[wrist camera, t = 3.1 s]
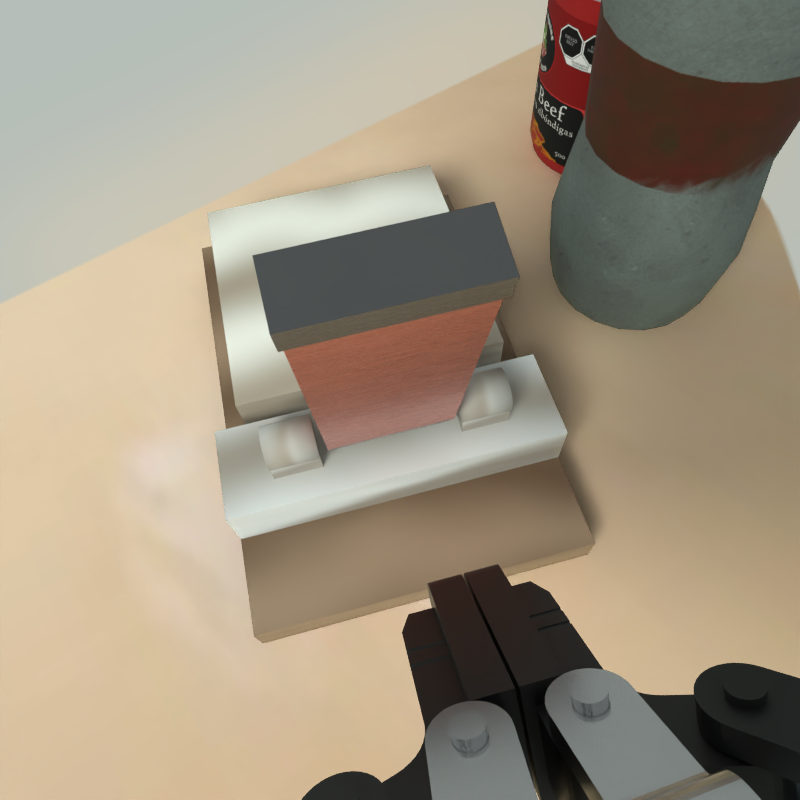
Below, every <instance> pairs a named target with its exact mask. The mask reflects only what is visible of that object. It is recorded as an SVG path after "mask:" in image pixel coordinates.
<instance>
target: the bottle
mask: <svg viewBox="0 0 800 800" xmlns="http://www.w3.org/2000/svg"><path fill="white" fill-rule="evenodd" d="M799 121H800V0H601V4H600V11H599V18H598V25H597V32H596V39H595V46H594V53H593V60H592V67H591V74H590V81H589V88H588V95H587V102H586V109H585V116H584V119H583V121H582V124H581V126H580V129H579V131H578V134H577V137H576V139H575V142H574V144H573V147H572V149H571V152H570V154H569V157H568V159H567V162H566V164H565V167H564V170H563V173H562V176H561V178H560V181H559V184H558V187H557V190H556V192H555V195H554V198H553V201H552V212H551V231H550V259H551V265H552V271H553V276H554V279H555V281H556V283H557V285H558V288H559V290H560V292H561V294H562V295H563V296H564V297H565V298H566V300H567V301H568V302H569V303H570V304H571V305H572V306H573V307H574V308H575V309H576V310H578V311H579V312H581V313H582V314H584V315H586V316H587V317H589V318H590V319H592V320H594V321H596V322H599V323H602V324H605V325H608V326H612V327H615V328H618V329H633V330H646V329H651V328H656V327H660V326H665V325H667V324H669V323H671V322H673V321H674V320H676V319H678V318H680V317H682V316H683V315H685V314H686V313H687V312H688V311H690V310H691V309H692V308H693V307H695V306H696V305H697V304H698V303H700V302H701V300H702V299H703V298H704V297H705V295H706V294H707V293H708V292H709V290H710V289H711V288H712V287H713V286H714V284H715V283H716V282H717V280H718V279H719V278H720V277H721V275H722V274H723V273H724V272H725V270H726V269H727V268H728V267H729V265H730V264H731V263H732V261H733V260H734V259H735V258H736V256H737V255H738V254H739V252H740V250H741V247H742V245H743V242H744V240H745V237H746V235H747V232H748V229H749V227H750V224H751V222H752V219H753V217H754V214H755V212H756V209H757V206H758V203H759V200H760V198H761V195H762V192H763V189H764V186H765V183H766V180H767V177H768V174H769V172H770V169H771V166H772V163H773V161H774V159H775V157H776V156H777V154H778V153H779V151H780V150H781V148H782V146H783V145H784V144H785V142H786V141H787V139H788V137H789V136H790V135H791V133H792V131H793V130H794V128H795V127H796V125H797V124H798V122H799Z"/></svg>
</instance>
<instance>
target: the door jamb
mask: <svg viewBox="0 0 800 800" xmlns="http://www.w3.org/2000/svg"><path fill="white" fill-rule="evenodd" d="M450 211H454V209H453V207H452V204H451V202H450V200H449V197H448V195H444V196H443V195H442V192H441V190H440V188H439V185H438V183H437V181H436V178H435V176H434V173H433V171H432V169H431V166H430V165H429V166H424V167H419V168H415V169H410V170H405V171H401V172H396V173H391V174H387V175H382V176H377V177H373V178H368V179H363V180H359V181H354V182H350V183H345V184H340V185H336V186H331V187H326V188H322V189H317V190H312V191H308V192H303V193H298V194H294V195H289V196H284V197H280V198H275V199H270V200H266V201H261V202H256V203H252V204H247V205H242V206H238V207H233V208H229V209H224V210H219V211H215V212H210V213H207V214H208V221H209V228H210V235H211V242H212V246H211V247H207V248H202V252H203V260H204V267H205V274H206V282H207V289H208V297H209V304H210V312H211V319H212V327H213V334H214V341H215V349H216V356H217V364H218V371H219V379H220V386H221V393H222V401H223V408H224V416H225V423H226V429H225V430H221V431H216V432H215V438H216V446H217V454H218V462H219V471H220V479H221V487H222V495H223V503H224V511H225V519H226V521H227V523H228V524H229V525H230V526H231V528H232V529H233V530H234V531H235V532H236V534H237V535H238V536H239V537H240V539H241V542H242V550H243V557H244V565H245V572H246V579H247V587H248V594H249V602H250V609H251V617H252V624H253V632H254V637H256V638H257V639H258V640H260V641H261V642H262V643H266V642H269V641H273V640H277V639H280V638H284V637H288V636H291V635H295V634H298V633H302V632H306V631H309V630H313V629H317V628H320V627H324V626H328V625H331V624H335V623H339V622H342V621H346V620H350V619H353V618H357V617H360V616H364V615H368V614H371V613H375V612H379V611H382V610H386V609H390V608H393V607H397V606H401V605H404V604H408V603H412V602H415V601H419V600H422V599H426V598H430V596H429V592H428V587H427V583H429V582H433V581H437V580H440V579H444V578H448V577H452V576H455V575H459V574H462V576H463V574H464V573H466V572H470V571H474V570H477V569H481V568H485V567H488V566H492V565H496V564H498V565H499V566H500V567H501V569H502V571H503V572H504V574H505V576H510V575H514V574H517V573H521V572H525V571H528V570H532V569H536V568H539V567H543V566H546V565H550V564H554V563H557V562H561V561H565V560H568V559H572V558H576V557H579V556H583V555H587V554H588V553H589V551H590V550H591V548H592V547H593V546H594V544H595V542H594V539H593V537H592V535H591V532H590V530H589V528H588V525H587V523H586V521H585V518H584V516H583V514H582V511H581V509H580V506H579V504H578V502H577V499H576V497H575V495H574V492H573V490H572V488H571V485H570V483H569V480H568V478H567V476H566V473H565V471H564V469H563V466H562V464H561V462H560V459H559V454H560V452H561V449H562V446H563V444H564V441H565V439H566V436H567V433H568V432H567V430H566V427H565V425H564V423H563V421H562V418H561V416H560V414H559V412H558V409H557V407H556V405H555V403H554V400H553V398H552V396H551V393H550V391H549V389H548V387H547V384H546V382H545V380H544V378H543V375H542V373H541V371H540V369H539V366H538V364H537V362H536V359H535V357H534V355H533V354H532V355H528V356H524V357H519V358H516V355H515V353H514V351H513V348H512V346H511V344H510V341H509V339H508V337H507V334H506V332H505V329H504V327H503V325H502V322H501V320H500V318H499V315H498V313H497V316H496V318H495V320H494V323H493V325H492V328H491V330H490V333H489V335H488V338H487V340H486V342H485V345H484V347H483V350H482V352H481V355H480V357H479V360H478V362H477V365H476V367H475V369H474V372H473V374H472V377H471V379H470V382H469V384H468V387H467V389H466V391H465V394H464V396H463V399H462V401H461V404H460V406H459V409H458V411H457V413H456V416H455V418H454V419H450V421H447V422H443V423H439V424H435V425H431V426H427V427H423V428H419V429H415V430H411V431H407V432H403V433H399V434H395V435H391V436H387V437H383V438H379V439H375V440H371V441H367V442H363V443H359V444H355V445H351V446H347V447H343V448H339V449H335V450H331V449H330V450H328V449H327V446H326V444H325V442H324V440H323V438H322V435H321V433H320V431H319V429H318V426H317V424H316V422H315V420H314V418H313V415H312V413H311V411H310V409H309V406H308V404H307V402H306V400H305V398H304V395H303V393H302V391H301V389H300V386H299V384H298V382H297V380H296V378H295V375H294V373H293V371H292V369H291V366H290V364H289V362H288V360H287V358H286V355H285V353H284V351H281V352H278V351H277V349H276V347H275V345H274V343H273V341H272V339H271V336H270V334H269V329H268V325H267V320H266V316H265V311H264V306H263V302H262V297H261V293H260V288H259V284H258V279H257V275H256V270H255V266H254V261H253V257H252V255H256V254H261V253H265V252H270V251H274V250H279V249H283V248H288V247H292V246H297V245H301V244H306V243H310V242H315V241H319V240H324V239H328V238H333V237H337V236H342V235H346V234H351V233H355V232H360V231H365V230H369V229H374V228H378V227H383V226H387V225H392V224H396V223H401V222H405V221H410V220H414V219H419V218H423V217H428V216H432V215H437V214H441V213H446V212H450ZM463 578H464V576H463Z"/></svg>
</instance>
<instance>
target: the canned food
mask: <svg viewBox="0 0 800 800" xmlns="http://www.w3.org/2000/svg"><path fill="white" fill-rule="evenodd" d="M600 4H601V0H549V1H548V8H547V15H546V22H545V29H544V36H543V43H542V50H541V57H540V64H539V72H538V79H537V86H536V93H535V100H534V107H533V114H532V121H531V129H530V130H531V136H532V141H533V146H534V149H535V151H536V153H537V155H538V157H539V158H540V159H541V160H542V161H543V162H544V163H545V164H546V165H547V166H549V167H550V168H551V169H553V170H555V171H556V172H558V173H560V174H562V173H563V170H564V167H565V164H566V162H567V159H568V157H569V154H570V152H571V149H572V147H573V144H574V142H575V139H576V137H577V134H578V131H579V129H580V126H581V124H582V121H583V119H584V116H585V109H586V102H587V95H588V88H589V81H590V74H591V67H592V60H593V53H594V46H595V39H596V32H597V25H598V18H599V11H600Z"/></svg>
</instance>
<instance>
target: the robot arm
mask: <svg viewBox="0 0 800 800" xmlns="http://www.w3.org/2000/svg"><path fill="white" fill-rule="evenodd" d="M463 576H464V578H463ZM463 576H462V574H459V575H455V576H452V577H448V578H444V579H440V580H437V581H433V582H429V583H427V587H428V592H429V596H430V601H431V605H432V608H431V609H427V610H423V611H420V612H416V613H412V614H409V615H408V618H407V620H406V623H405V626H404V629H403V631H402V634H403V638H404V642H405V646H406V650H407V655H408V659H409V663H410V667H411V671H412V675H413V679H414V683H415V687H416V692H417V696H418V700H419V704H420V708H421V712H422V716H423V720H424V724H425V737H424V741H423V744H422V747H421V749H420V751H419V752H418V754H417V755H416V757H415V758H414V759H413V760H412V761H411V763H410V764H408V765H407V766H406V767H405V768H404V769H403V770H401V771H400V772H398V773H397V774H395V775H394V776H392V777H391V778H389V779H387V780H386V781H384V782H383V783H381V782H380V781H379V780H378V779H377V778H375V777H374V776H372V775H370V774H367V773H363V772H355V771H351V772H343V773H339V774H336V775H333V776H331V777H328V778H326V779H325V780H323V781H321V782H320V783H318V784H317V785H315V786H314V787H313V788H312V789H311V790H310V791H309V792H308V793H307V794H306V795H305V796H304V797H303V799H302V800H538V798H537V795H538V797H539V800H800V678H797V677H793V676H790V675H786V674H783V673H780V672H776V671H773V670H770V669H766V668H763V667H760V666H756V665H751V664H744V663H726V664H721V665H717V666H714V667H711V668H709V669H707V670H705V671H704V672H703V673H701V674H700V675H699V677H698V678H697V679H696V682H695V684H694V695H649V694H643V693H639V692H636V690H635V689H634V688H633V687H632V686H631V685H630V684H629V683H628V682H627V681H626V680H625V679H623V678H622V677H621V676H619V675H617V674H615V673H612V672H609V671H606V670H603V668H602V667H601V666H600V664H599V663H598V661H597V660H596V658H595V657H594V655H593V654H592V653H591V651H590V650H589V648H588V647H587V645H586V644H585V643H584V641H583V640H582V638H581V637H580V635H579V634H578V632H577V631H576V630H575V628H574V627H573V625H572V624H570V622H569V620H568V618H567V617H566V615H565V614H564V612H563V611H561V609H560V607H559V605H558V604H557V602H556V601H555V599H554V598H553V597H552V595H551V594H550V592H548V591H547V590H545V589H543V588H541V587H539V586H538V585H536V584H534V583H532V582H531V581H529V582H526V583H522V584H518V585H515V586H511V584H510V583H509V581H508V579H507V578H506V576H505V574H504V572H503V571H502V569H501V567H500V566H499V565H498V564H496V565H492V566H488V567H485V568H481V569H477V570H474V571H470V572H466V573H464V574H463ZM535 790H536V791H535ZM536 792H537V795H536Z"/></svg>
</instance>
